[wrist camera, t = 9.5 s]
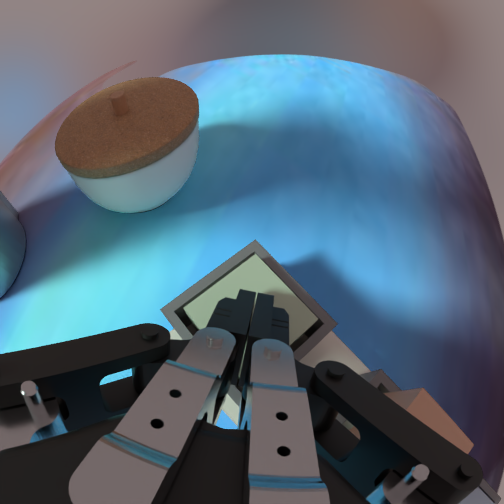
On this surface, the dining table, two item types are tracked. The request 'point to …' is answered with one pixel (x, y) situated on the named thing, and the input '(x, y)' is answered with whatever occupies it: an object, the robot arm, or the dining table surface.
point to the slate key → (476, 498)
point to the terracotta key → (428, 416)
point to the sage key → (257, 280)
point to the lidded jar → (132, 143)
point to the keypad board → (304, 349)
